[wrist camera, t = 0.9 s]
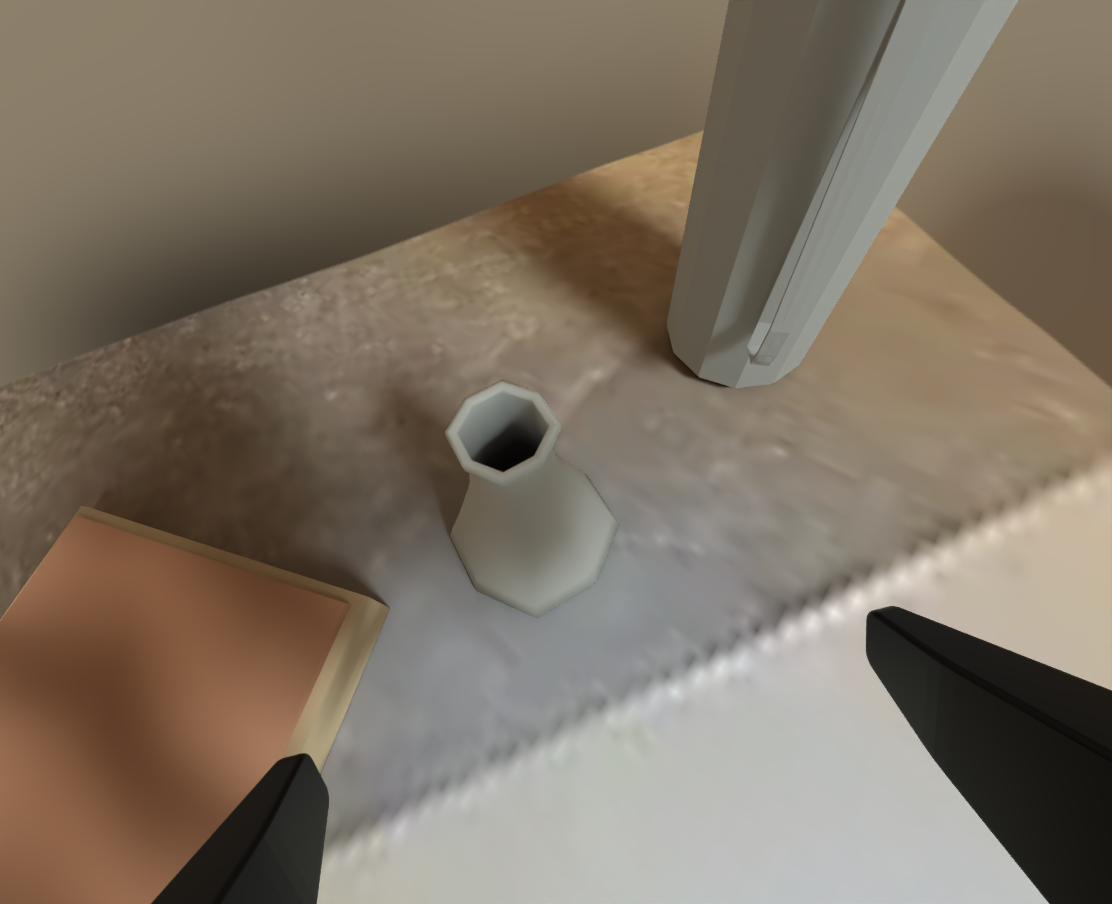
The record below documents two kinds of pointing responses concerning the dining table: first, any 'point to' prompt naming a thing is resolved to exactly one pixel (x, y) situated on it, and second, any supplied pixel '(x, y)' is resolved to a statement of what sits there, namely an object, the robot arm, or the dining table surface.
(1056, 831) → the robot arm
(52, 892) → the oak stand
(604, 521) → the flask
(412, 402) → the dining table surface
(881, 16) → the water bottle
